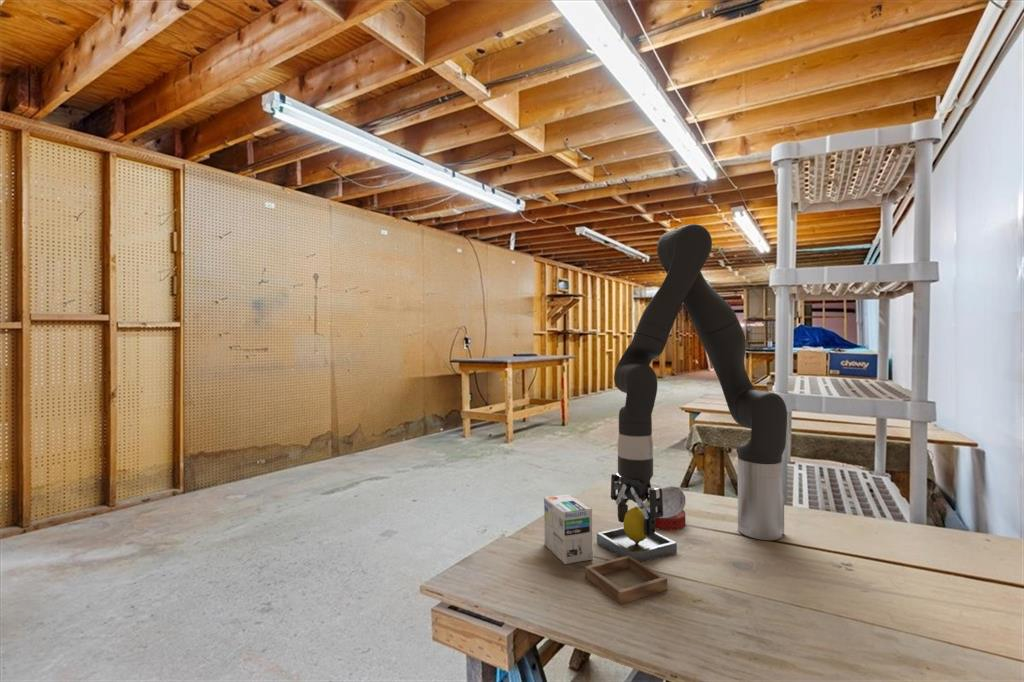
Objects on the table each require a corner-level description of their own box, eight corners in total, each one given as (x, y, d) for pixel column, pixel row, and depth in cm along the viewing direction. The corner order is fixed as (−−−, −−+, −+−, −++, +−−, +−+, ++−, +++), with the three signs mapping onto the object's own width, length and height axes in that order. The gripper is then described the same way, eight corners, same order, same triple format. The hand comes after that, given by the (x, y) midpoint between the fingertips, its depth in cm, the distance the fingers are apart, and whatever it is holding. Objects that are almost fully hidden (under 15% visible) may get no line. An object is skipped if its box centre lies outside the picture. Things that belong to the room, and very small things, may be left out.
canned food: (686, 546, 117) (697, 517, 112) (644, 541, 117) (654, 512, 112) (674, 510, 127) (684, 481, 122) (636, 506, 127) (645, 477, 122)
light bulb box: (593, 560, 100) (593, 508, 100) (564, 565, 98) (564, 512, 98) (570, 540, 110) (569, 492, 110) (543, 544, 108) (542, 496, 108)
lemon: (651, 540, 107) (651, 504, 107) (647, 550, 102) (646, 512, 102) (626, 536, 109) (626, 501, 109) (621, 546, 104) (620, 509, 104)
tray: (638, 532, 114) (638, 523, 114) (676, 553, 103) (676, 542, 103) (596, 542, 108) (596, 532, 108) (632, 565, 98) (632, 554, 98)
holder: (628, 565, 97) (628, 555, 97) (667, 589, 88) (667, 578, 88) (585, 577, 93) (585, 566, 93) (620, 604, 83) (620, 592, 83)
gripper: (672, 459, 101) (672, 536, 101) (627, 445, 113) (627, 514, 114) (644, 463, 97) (644, 543, 97) (601, 449, 110) (601, 520, 110)
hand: (635, 528), depth 106 cm, fingers open, 8 cm apart
